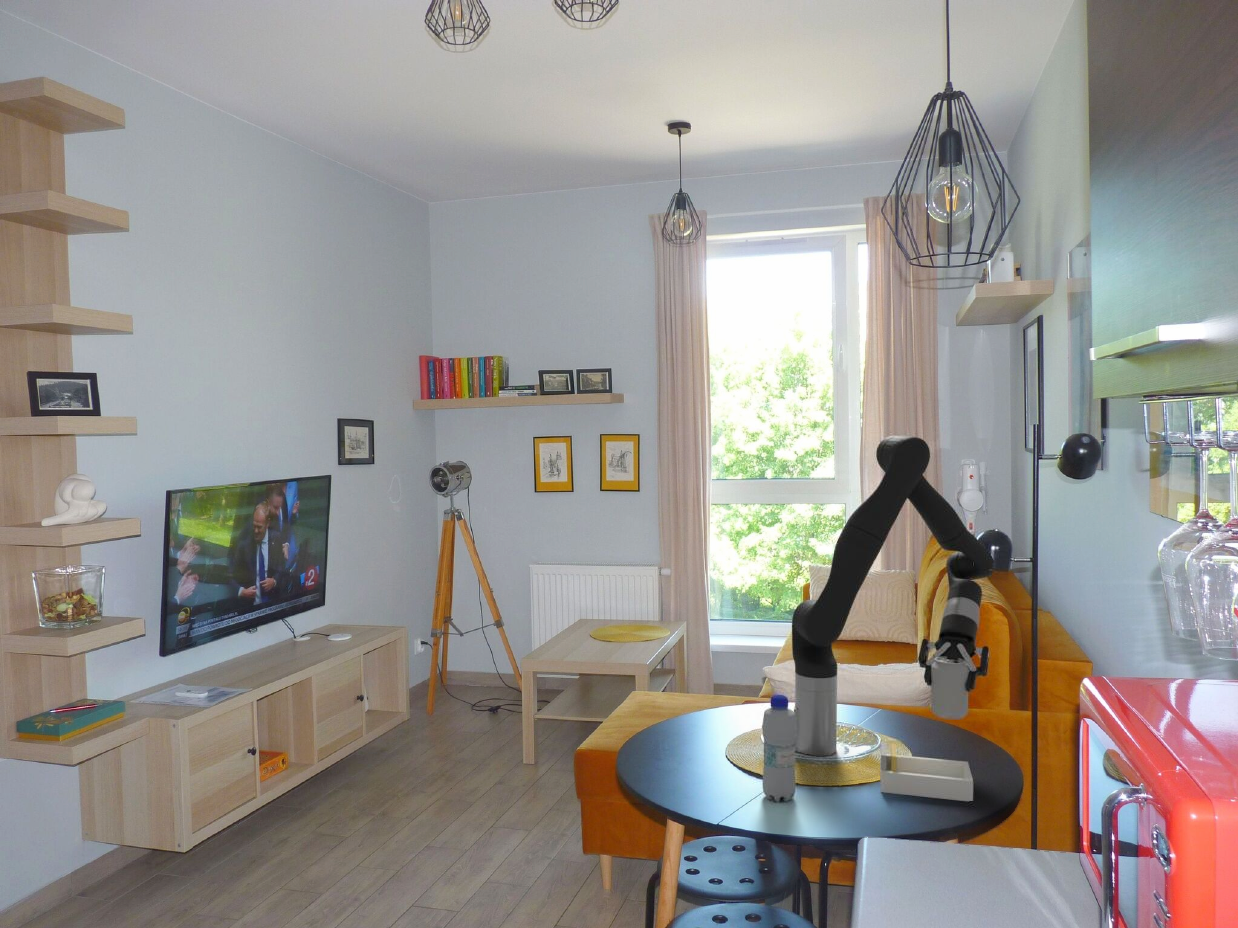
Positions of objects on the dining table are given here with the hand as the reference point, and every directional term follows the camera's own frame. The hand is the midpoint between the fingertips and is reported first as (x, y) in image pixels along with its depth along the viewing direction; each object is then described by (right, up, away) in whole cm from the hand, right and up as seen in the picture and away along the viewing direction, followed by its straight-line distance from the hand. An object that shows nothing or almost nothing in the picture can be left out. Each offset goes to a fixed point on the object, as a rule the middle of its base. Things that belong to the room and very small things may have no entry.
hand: (948, 686), depth 190 cm
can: (+1, -7, +1) cm, 7 cm away
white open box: (-8, -18, -10) cm, 22 cm away
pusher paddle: (-14, -16, -8) cm, 23 cm away
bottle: (-38, -18, -15) cm, 45 cm away
